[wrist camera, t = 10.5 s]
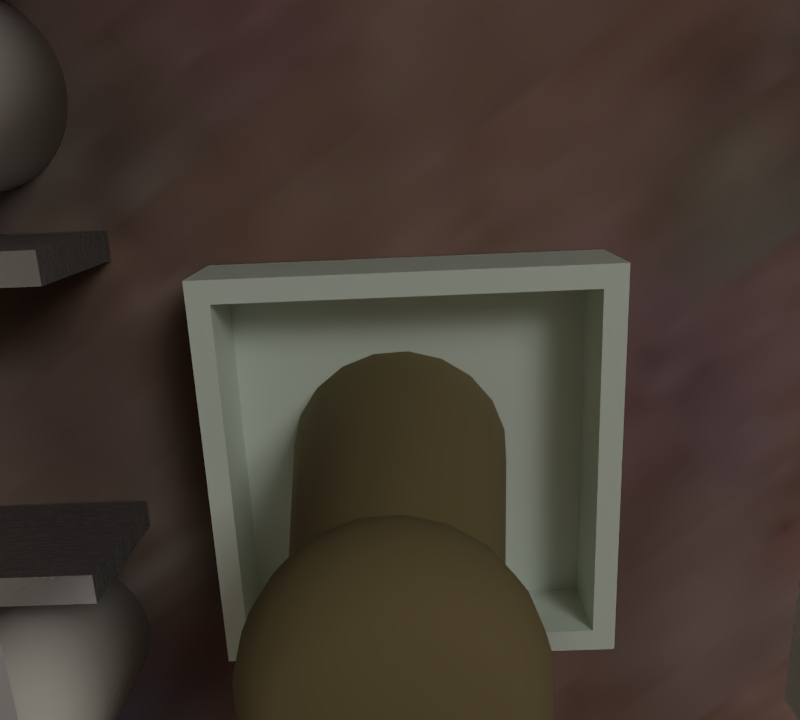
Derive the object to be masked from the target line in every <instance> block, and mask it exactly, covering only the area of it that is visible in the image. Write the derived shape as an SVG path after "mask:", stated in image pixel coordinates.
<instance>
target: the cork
mask: <svg viewBox="0 0 800 720" xmlns="http://www.w3.org/2000/svg"><path fill="white" fill-rule="evenodd" d="M233 701H234V707H235V712H236V718H237V720H553V707H554V676H553V653H552V650H551V647H550V644H549V640H548V637H547V634H546V631H545V628H544V626H543V624H542V621H541V619H540V617H539V614H538V612H537V610H536V607H535V605H534V603H533V600H532V598H531V596H530V593H529V591H528V590H527V589H526V588H525V586H524V585H523V584H522V583H521V581H520V580H519V579H518V578H517V577H516V575H515V574H514V573H513V572H512V571H511V570H510V569H509V568H508V567H507V566H506V446H505V430H504V427H503V425H502V422H501V420H500V417H499V415H498V413H497V410H496V408H495V405H494V403H493V400H492V399H491V398H490V397H489V396H488V395H487V394H486V393H485V391H484V390H483V389H482V388H481V387H480V386H479V385H478V383H477V382H476V381H475V380H474V379H473V378H472V377H471V376H470V375H468V374H467V373H465V372H463V371H462V370H460V369H458V368H456V367H455V366H453V365H451V364H450V363H448V362H446V361H445V360H443V359H440V358H436V357H431V356H427V355H423V354H418V353H414V352H409V351H405V352H393V353H380V354H372V355H370V356H368V357H365V358H363V359H360V360H358V361H355V362H353V363H350V364H348V365H346V366H343V367H341V368H340V369H339V370H338V371H337V372H336V373H334V374H333V375H332V376H331V377H330V378H328V379H327V380H326V381H325V382H324V383H323V384H321V385H320V386H319V387H318V388H317V389H316V391H315V392H314V394H313V396H312V397H311V399H310V401H309V402H308V404H307V406H306V407H305V409H304V411H303V412H302V414H301V416H300V420H299V425H298V430H297V435H296V440H295V445H294V460H293V480H292V501H291V521H290V542H289V558H287V559H286V560H285V561H284V562H283V563H282V564H281V565H280V567H279V568H278V569H277V570H276V571H275V572H274V573H273V574H272V576H271V577H270V579H269V581H268V582H267V584H266V585H265V587H264V588H263V590H262V592H261V593H260V595H259V596H258V598H257V600H256V601H255V603H254V604H253V606H252V608H251V609H250V611H249V613H248V616H247V619H246V621H245V624H244V627H243V630H242V632H241V637H240V642H239V647H238V652H237V657H236V662H235V667H234V672H233Z"/></svg>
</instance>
